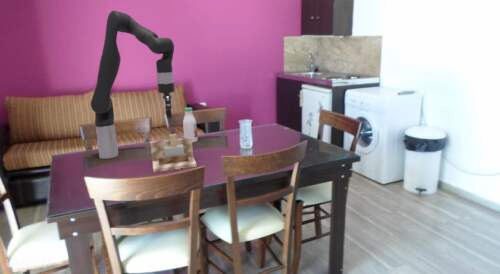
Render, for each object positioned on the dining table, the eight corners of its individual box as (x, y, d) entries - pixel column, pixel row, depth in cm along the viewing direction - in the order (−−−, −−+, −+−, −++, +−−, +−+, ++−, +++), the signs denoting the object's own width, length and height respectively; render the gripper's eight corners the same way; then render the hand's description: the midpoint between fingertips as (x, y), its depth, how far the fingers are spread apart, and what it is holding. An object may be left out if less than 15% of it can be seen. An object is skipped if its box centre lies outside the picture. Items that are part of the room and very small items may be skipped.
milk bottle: (191, 143, 223) (188, 109, 218) (181, 142, 227) (178, 108, 222) (200, 140, 230) (197, 107, 224) (190, 139, 234) (187, 106, 228)
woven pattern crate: (153, 172, 179) (150, 149, 176) (152, 163, 192) (150, 141, 189) (196, 166, 184) (194, 144, 181) (192, 158, 197) (191, 137, 194)
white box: (165, 162, 187) (163, 136, 184) (165, 159, 192) (163, 134, 188) (184, 160, 189) (182, 134, 186) (184, 157, 194) (181, 132, 190)
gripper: (156, 81, 186) (160, 114, 190) (157, 84, 173) (161, 119, 177) (172, 79, 188) (175, 112, 192) (174, 83, 174) (177, 118, 179)
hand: (168, 116), depth 184 cm, fingers open, 8 cm apart
